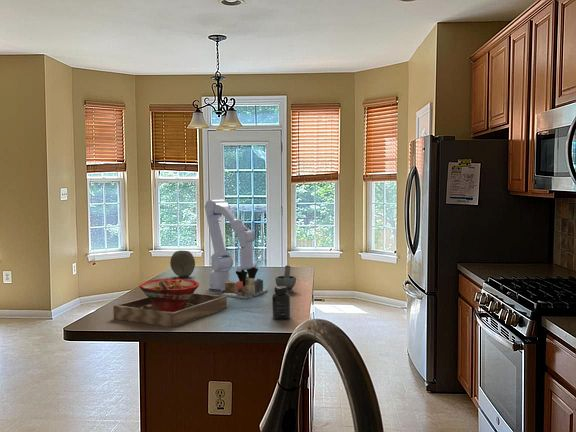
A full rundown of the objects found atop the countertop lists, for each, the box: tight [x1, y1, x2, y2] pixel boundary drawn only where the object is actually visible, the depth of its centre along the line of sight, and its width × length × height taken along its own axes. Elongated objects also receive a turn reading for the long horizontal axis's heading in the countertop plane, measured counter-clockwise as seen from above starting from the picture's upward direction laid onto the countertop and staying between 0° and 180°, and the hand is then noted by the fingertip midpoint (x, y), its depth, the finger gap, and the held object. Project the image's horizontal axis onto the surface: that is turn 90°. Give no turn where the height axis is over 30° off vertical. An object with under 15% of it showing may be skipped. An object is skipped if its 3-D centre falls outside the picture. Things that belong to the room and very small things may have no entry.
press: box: [233, 278, 268, 297], centre depth 254 cm, size 11×12×7 cm
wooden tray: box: [112, 292, 228, 328], centre depth 215 cm, size 29×33×5 cm
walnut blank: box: [225, 280, 237, 294], centre depth 256 cm, size 5×4×5 cm
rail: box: [219, 290, 253, 300], centre depth 246 cm, size 15×3×2 cm, turn 62°
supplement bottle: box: [271, 285, 291, 321], centre depth 205 cm, size 7×7×12 cm
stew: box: [139, 278, 200, 312], centre depth 213 cm, size 28×24×16 cm
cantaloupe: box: [169, 250, 196, 278], centre depth 301 cm, size 14×14×15 cm
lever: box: [235, 280, 245, 295], centre depth 245 cm, size 4×3×6 cm
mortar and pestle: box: [275, 265, 297, 294], centre depth 257 cm, size 11×9×12 cm
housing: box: [243, 276, 256, 291], centre depth 255 cm, size 5×4×6 cm
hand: (247, 284), depth 255 cm, fingers open, 7 cm apart
